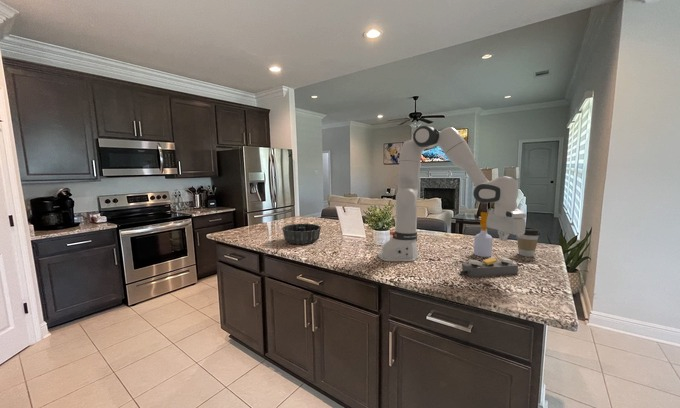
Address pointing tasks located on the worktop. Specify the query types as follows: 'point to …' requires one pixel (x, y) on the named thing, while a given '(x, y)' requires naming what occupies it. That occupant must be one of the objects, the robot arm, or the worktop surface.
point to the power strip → (489, 269)
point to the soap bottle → (483, 239)
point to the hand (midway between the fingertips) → (503, 240)
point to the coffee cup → (528, 242)
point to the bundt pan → (301, 233)
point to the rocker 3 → (505, 260)
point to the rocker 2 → (489, 261)
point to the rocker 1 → (475, 262)
